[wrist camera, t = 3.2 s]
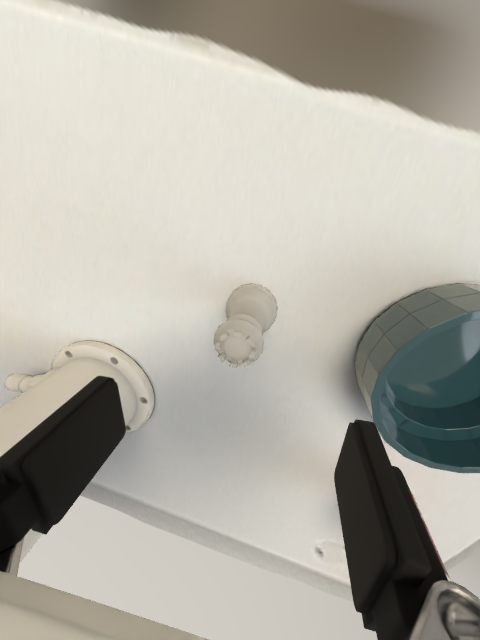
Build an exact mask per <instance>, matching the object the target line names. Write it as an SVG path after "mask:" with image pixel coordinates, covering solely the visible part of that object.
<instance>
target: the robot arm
mask: <svg viewBox="0 0 480 640" xmlns="http://www.w3.org/2000/svg"><path fill="white" fill-rule="evenodd" d="M4 385H5V388H6V389H7V390H11V391H17V392H24V393H23V394H21V395H20V396H18V397H17V398H15V399H14V400H12V401H11V402H9V403H8V404H6V405H5V406H3V407H2V408H0V640H208V639H205V638H202V637H199V636H196V635H193V634H190V633H187V632H185V631H182V630H178V629H175V628H173V627H169V626H167V625H164V624H160V623H157V622H155V621H151V620H149V619H145V618H142V617H139V616H136V615H133V614H130V613H127V612H124V611H121V610H118V609H115V608H112V607H109V606H106V605H103V604H100V603H97V602H94V601H91V600H88V599H85V598H82V597H79V596H76V595H73V594H70V593H67V592H64V591H60V590H57V589H54V588H51V587H48V586H45V585H42V584H39V583H36V582H33V581H30V580H26V579H24V578H21V577H17V573H18V568H19V564H20V562H21V561H22V560H23V558H24V557H25V556H26V555H27V553H28V552H29V551H30V549H31V548H32V547H33V545H34V544H35V543H36V542H37V540H38V539H39V538H40V536H41V535H42V534H47V533H48V531H49V530H50V529H51V527H52V526H53V525H55V524H57V523H58V522H59V521H60V520H61V519H62V518H63V517H64V515H65V514H66V513H67V511H68V510H69V509H70V507H71V506H72V505H73V503H74V502H75V501H76V499H77V498H78V497H79V495H80V494H81V493H82V491H83V490H84V489H85V487H86V486H87V485H88V484H89V482H90V481H91V480H92V478H93V477H94V476H95V474H96V473H97V472H98V470H99V469H100V468H101V466H102V465H103V464H104V462H105V461H106V460H107V458H108V457H109V456H110V454H111V453H112V452H113V450H114V449H115V448H116V446H117V445H118V444H119V442H120V441H121V440H122V438H123V437H124V435H125V433H128V432H132V431H135V430H137V429H139V428H140V427H141V426H143V425H144V424H145V422H146V421H147V420H148V418H149V417H150V415H151V413H152V411H153V407H154V393H153V390H152V386H151V384H150V382H149V380H148V378H147V376H146V375H145V373H144V372H143V370H142V369H141V368H140V367H139V366H138V365H137V363H136V362H135V361H134V360H133V359H131V358H130V357H129V356H127V355H126V354H125V353H123V352H122V351H120V350H118V349H116V348H115V347H112V346H110V345H107V344H105V343H100V342H96V341H81V342H76V343H73V344H71V345H69V346H67V347H66V348H64V349H63V350H61V351H60V352H59V353H58V354H57V355H56V356H55V358H54V360H53V362H52V366H51V371H49V372H48V373H46V374H45V375H37V376H34V377H33V376H31V375H26V374H20V373H13V374H11V375H9V376H8V377H7V379H6V380H5V383H4ZM334 480H335V487H336V494H337V500H338V506H339V513H340V519H341V525H342V532H343V538H344V544H345V551H346V557H347V563H348V570H349V576H350V582H351V588H352V595H353V601H354V605H355V609H356V611H357V612H360V613H362V617H363V623H364V628H365V629H369V630H372V631H376V633H377V638H378V640H480V599H479V598H478V597H477V596H475V595H474V594H473V593H471V592H470V591H469V590H467V589H466V588H464V587H463V586H460V585H458V584H456V583H454V582H451V581H448V579H447V576H446V574H445V572H444V569H443V567H442V564H441V562H440V560H439V557H438V555H437V553H436V550H435V548H434V546H433V543H432V541H431V539H430V536H429V534H428V532H427V529H426V527H425V525H424V522H423V520H422V517H421V515H420V513H419V510H418V508H417V506H416V503H415V501H414V499H413V496H412V494H411V492H410V489H409V487H408V485H407V482H406V480H405V478H404V475H403V473H402V472H401V470H400V469H399V468H398V467H395V466H391V463H390V461H389V458H388V456H387V453H386V451H385V448H384V445H383V443H382V440H381V438H380V435H379V433H378V430H377V428H376V425H375V423H373V422H369V421H363V420H355V422H354V423H349V426H348V429H347V432H346V436H345V439H344V442H343V446H342V449H341V452H340V456H339V459H338V462H337V466H336V469H335V474H334Z"/></svg>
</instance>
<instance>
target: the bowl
mask: <svg viewBox="0 0 480 640" xmlns="http://www.w3.org/2000/svg"><path fill="white" fill-rule="evenodd" d="M355 369H356V377H357V382H358V385H359V387H360V390H361V392H362V395H363V397H364V400H365V402H366V405H367V407H368V410H369V412H370V414H371V417H372V419H373V422H374V423H375V425H376V427H377V429H378V430H379V432H380V434H381V435H382V437H383V439H384V440H385V441H386V442H387V443H388V444H389V445H390V446H392V447H393V448H394V449H395V450H397V451H398V452H399V453H400V454H402V455H403V456H404V457H406V458H408V459H411V460H413V461H415V462H418V463H420V464H423V465H425V466H427V467H431V468H435V469H440V470H446V471H452V472H457V473H480V285H476V284H463V283H456V284H451V285H446V286H440V287H435V288H430V289H426V290H423V291H421V292H419V293H417V294H414V295H412V296H410V297H408V298H406V299H403V300H401V301H399V302H397V303H395V304H394V305H393V306H392V307H390V308H389V309H388V310H387V311H386V312H384V313H383V314H382V315H381V316H379V317H378V318H377V319H376V320H375V321H374V322H373V323H372V325H371V326H370V328H369V329H368V331H367V332H366V333H365V335H364V336H363V338H362V339H361V341H360V343H359V347H358V351H357V355H356V359H355Z"/></svg>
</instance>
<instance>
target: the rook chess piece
mask: <svg viewBox="0 0 480 640" xmlns="http://www.w3.org/2000/svg"><path fill="white" fill-rule="evenodd" d="M277 309H278V307H277V303H276V299H275V297H274V296H273V294H272V293H271V292H270V290H268V289H266V288H265V287H263V286H261V285H257V284H246V285H241V286H240V287H238V288H237V289H236V290H234V291H233V292H232V294H231V296H230V298H229V300H228V302H227V308H226V314H227V318H228V319H227V320H226V322H225V323H223V324H222V325H220V326H219V327H218V329H217V330H216V332H215V334H214V345H215V350H216V351H217V352H218V353H219V355H218V358H219V359H220V360H221V361H222V362H223V361H224V360H227V361H229V362H230V365H229V366H230V367H234V368H237V366H238V364H239V365H242V364H243V366H244V367H245V366H247V365H249V364H251V362H253V361H255V360H256V359H257V358H258V357H259V356H260V354H261V353H262V350H263V345H264V342H263V339H262V333H263V332H265V331H266V330H268V329H269V328H270V327H271V325H272V324H273V322H274V321H275V318H276V314H277Z"/></svg>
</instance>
